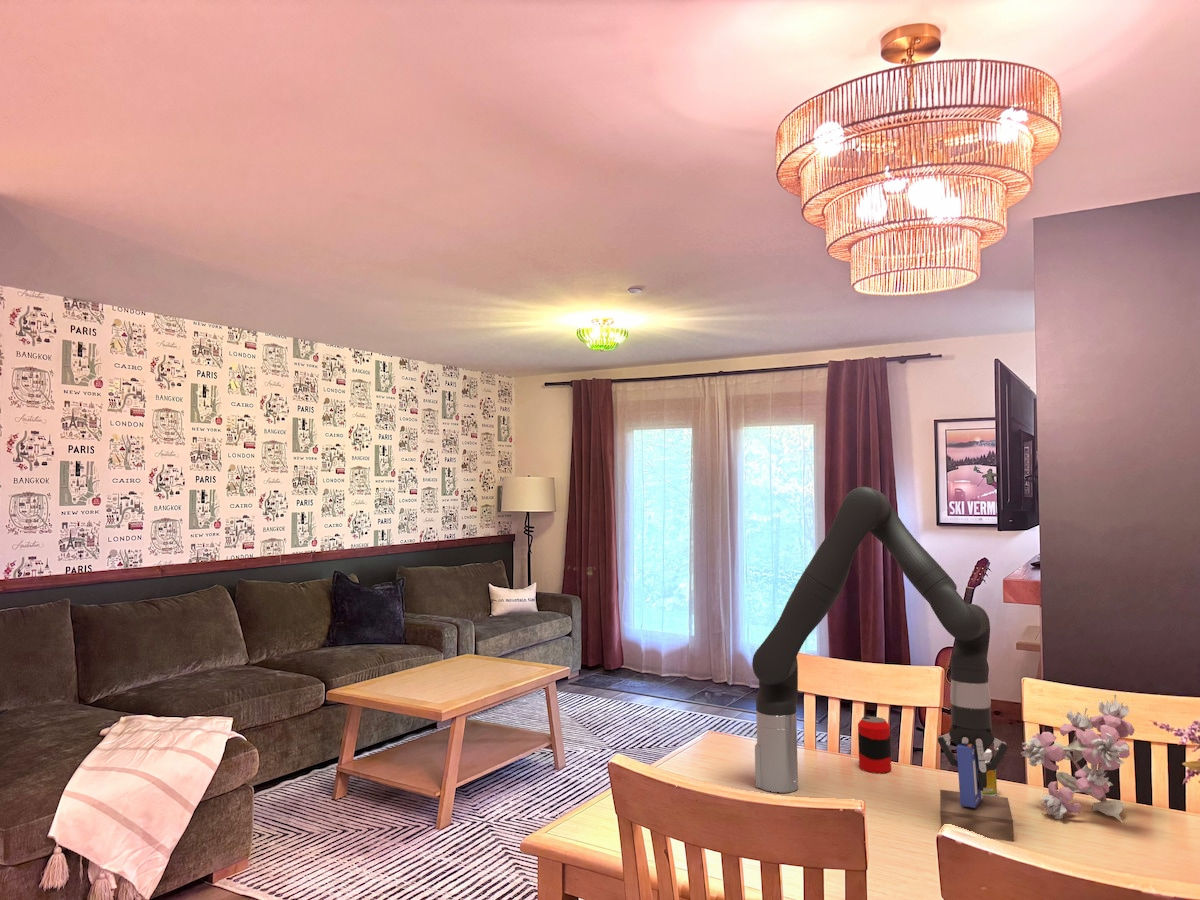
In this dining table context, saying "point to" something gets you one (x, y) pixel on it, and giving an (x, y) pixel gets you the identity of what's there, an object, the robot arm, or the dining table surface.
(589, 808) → the dining table surface
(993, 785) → the supplement bottle
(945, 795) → the walnut stand
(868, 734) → the soda can
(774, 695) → the robot arm
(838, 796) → the dining table surface
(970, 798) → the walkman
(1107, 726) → the flower
